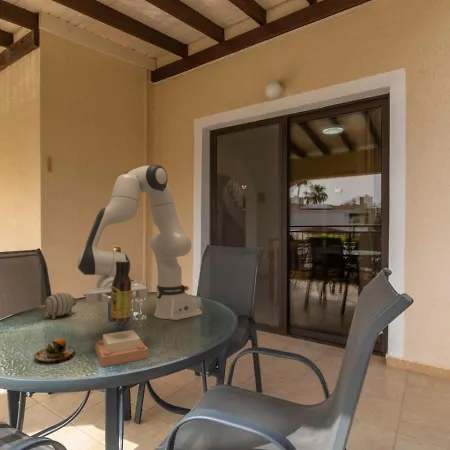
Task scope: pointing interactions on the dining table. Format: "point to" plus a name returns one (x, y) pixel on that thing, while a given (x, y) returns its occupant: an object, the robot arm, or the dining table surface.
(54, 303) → the toy sheep
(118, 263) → the sauce bottle
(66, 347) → the burger
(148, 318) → the dining table surface
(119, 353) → the brick stack
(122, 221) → the robot arm
